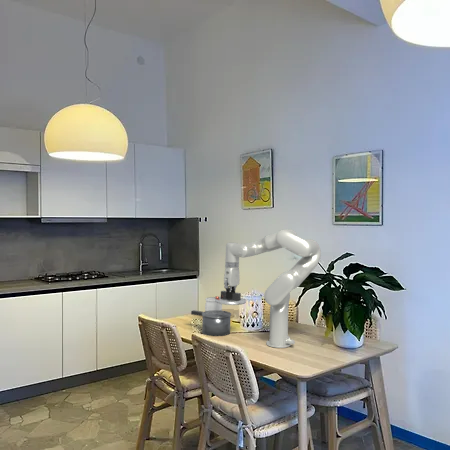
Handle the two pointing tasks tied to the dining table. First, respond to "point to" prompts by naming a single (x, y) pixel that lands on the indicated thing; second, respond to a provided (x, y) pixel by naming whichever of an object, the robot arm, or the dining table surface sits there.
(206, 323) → the grey saucepan
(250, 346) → the dining table surface
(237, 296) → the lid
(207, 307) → the jar
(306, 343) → the dining table surface
